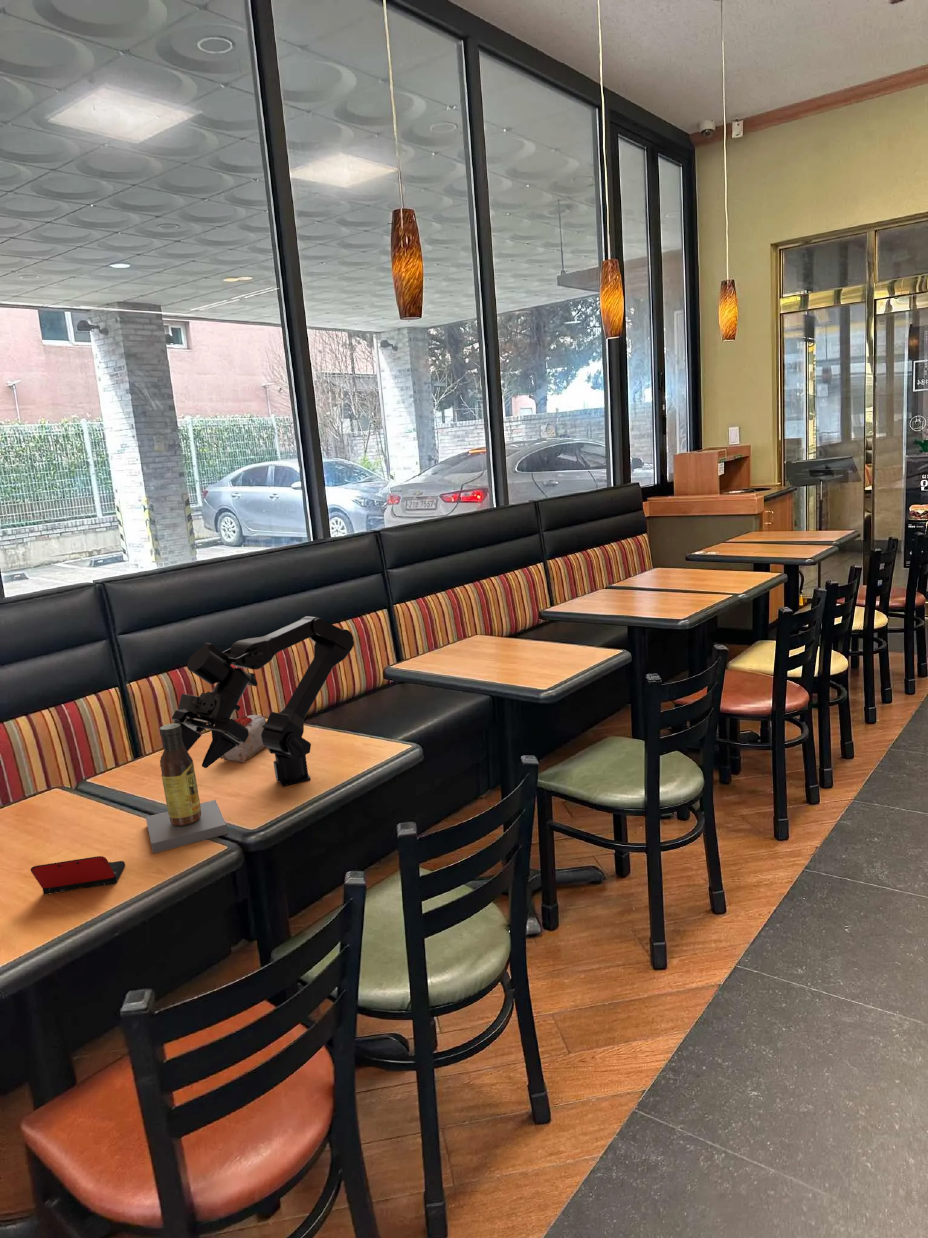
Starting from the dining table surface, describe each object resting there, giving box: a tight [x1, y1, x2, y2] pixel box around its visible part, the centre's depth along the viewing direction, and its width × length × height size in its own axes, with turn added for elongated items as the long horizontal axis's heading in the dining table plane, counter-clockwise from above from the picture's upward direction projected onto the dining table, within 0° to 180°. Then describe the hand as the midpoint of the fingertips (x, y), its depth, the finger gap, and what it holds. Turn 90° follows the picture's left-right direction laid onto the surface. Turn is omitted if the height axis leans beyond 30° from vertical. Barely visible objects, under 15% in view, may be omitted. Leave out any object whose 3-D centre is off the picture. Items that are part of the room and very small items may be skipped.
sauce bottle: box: [159, 722, 201, 826], centre depth 165 cm, size 6×6×20 cm
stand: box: [145, 799, 229, 854], centre depth 167 cm, size 14×14×2 cm
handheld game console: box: [30, 855, 126, 895], centre depth 148 cm, size 12×11×7 cm
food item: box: [219, 714, 267, 764], centre depth 206 cm, size 14×8×10 cm, turn 164°
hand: (189, 763), depth 167 cm, fingers open, 9 cm apart
